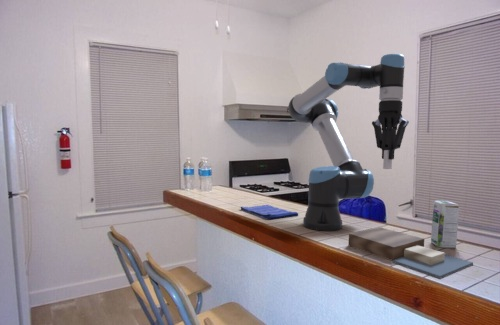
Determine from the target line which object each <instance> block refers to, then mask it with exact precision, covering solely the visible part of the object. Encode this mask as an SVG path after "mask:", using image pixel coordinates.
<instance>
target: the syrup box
mask: <svg viewBox="0 0 500 325" xmlns="http://www.w3.org/2000/svg"><path fill="white" fill-rule="evenodd" d="M459 213H460V204H458V203H455V202H452V201H449V200H434V201H433V208H432V221H431V222H432V223H431V231H430V232H431V234H430V235H431V236H430V243H431V244H433V245H435V246H436V247H438V248H445V249H446V248H448V249H449V248H450V249H451V248H452V249H453V248H454V249H456V248H457V241H458V240H457V239H458V227H459V226H458V224H459V217H460V216H459V215H460V214H459Z"/></svg>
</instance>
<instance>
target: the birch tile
mask: <svg viewBox="0 0 500 325" xmlns="http://www.w3.org/2000/svg"><path fill="white" fill-rule="evenodd" d="M445 255H446V253H445V252H443V251H439V250H436V249H433V248H428V247H426V246H424V247H422V246H419V245H416V246H413V247H409V248H406V249H404V257H407V258H411V259H414V260H417V261H420V262H423V263H426V264H429V265H433V264H436V263H438V262H441V261H444V257H445Z"/></svg>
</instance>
